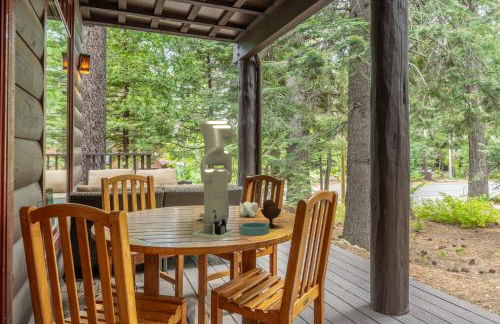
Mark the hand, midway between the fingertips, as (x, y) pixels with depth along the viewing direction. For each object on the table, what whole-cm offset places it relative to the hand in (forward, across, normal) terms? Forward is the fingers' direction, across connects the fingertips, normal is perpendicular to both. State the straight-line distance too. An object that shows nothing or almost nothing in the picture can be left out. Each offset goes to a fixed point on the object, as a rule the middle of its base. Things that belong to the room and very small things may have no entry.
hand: (220, 232), depth 172 cm
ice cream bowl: (+2, -31, +12) cm, 33 cm away
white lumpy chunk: (+2, -56, -14) cm, 58 cm away
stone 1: (+1, 0, -7) cm, 7 cm away
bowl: (+2, -13, +12) cm, 17 cm away
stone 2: (+1, 0, 0) cm, 1 cm away
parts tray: (+2, 0, -4) cm, 4 cm away
